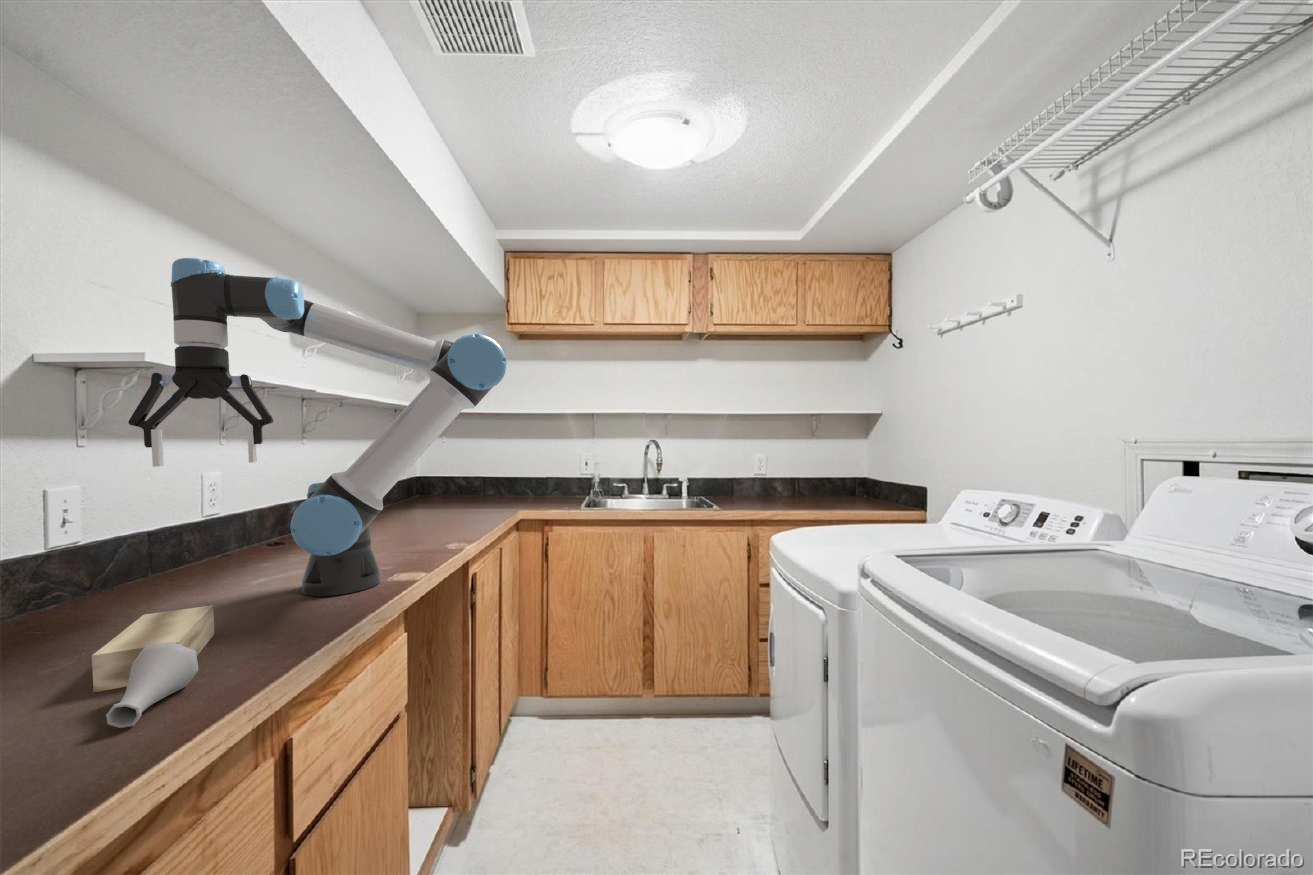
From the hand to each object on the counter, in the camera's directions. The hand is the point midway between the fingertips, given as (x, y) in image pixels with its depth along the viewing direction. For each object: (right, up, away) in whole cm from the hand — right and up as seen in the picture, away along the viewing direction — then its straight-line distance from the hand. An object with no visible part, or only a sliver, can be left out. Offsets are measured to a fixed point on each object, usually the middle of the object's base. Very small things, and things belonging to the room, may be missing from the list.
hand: (207, 464), depth 99 cm
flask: (+17, -26, -26) cm, 40 cm away
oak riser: (+7, -29, -16) cm, 34 cm away
